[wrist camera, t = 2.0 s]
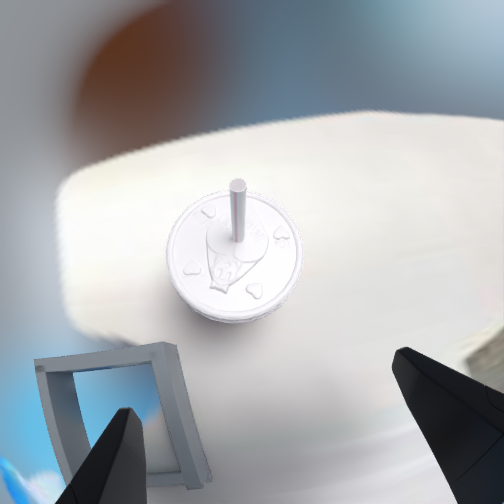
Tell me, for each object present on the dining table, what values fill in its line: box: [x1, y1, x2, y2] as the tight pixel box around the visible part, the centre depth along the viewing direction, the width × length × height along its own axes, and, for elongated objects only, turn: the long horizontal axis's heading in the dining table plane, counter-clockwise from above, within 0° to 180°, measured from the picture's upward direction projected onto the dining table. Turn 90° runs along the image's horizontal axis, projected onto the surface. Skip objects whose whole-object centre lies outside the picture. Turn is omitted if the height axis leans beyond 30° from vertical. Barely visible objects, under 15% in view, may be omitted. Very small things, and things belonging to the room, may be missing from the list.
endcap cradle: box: [34, 342, 212, 490], centre depth 17 cm, size 11×10×4 cm
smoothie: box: [166, 178, 304, 324], centre depth 16 cm, size 6×6×14 cm
